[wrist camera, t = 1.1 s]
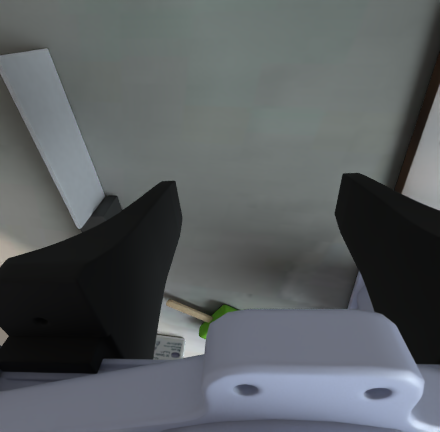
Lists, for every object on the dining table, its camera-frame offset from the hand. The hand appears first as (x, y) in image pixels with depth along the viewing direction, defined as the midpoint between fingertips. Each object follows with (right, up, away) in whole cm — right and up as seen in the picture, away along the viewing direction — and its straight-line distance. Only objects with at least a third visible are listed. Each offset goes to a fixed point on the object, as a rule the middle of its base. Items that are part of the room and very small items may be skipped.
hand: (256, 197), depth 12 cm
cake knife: (-12, +2, +11) cm, 16 cm away
